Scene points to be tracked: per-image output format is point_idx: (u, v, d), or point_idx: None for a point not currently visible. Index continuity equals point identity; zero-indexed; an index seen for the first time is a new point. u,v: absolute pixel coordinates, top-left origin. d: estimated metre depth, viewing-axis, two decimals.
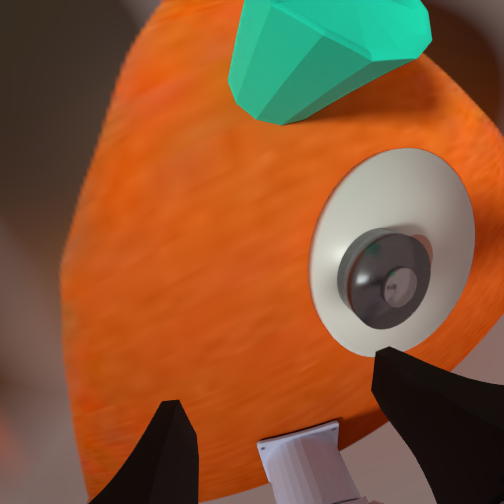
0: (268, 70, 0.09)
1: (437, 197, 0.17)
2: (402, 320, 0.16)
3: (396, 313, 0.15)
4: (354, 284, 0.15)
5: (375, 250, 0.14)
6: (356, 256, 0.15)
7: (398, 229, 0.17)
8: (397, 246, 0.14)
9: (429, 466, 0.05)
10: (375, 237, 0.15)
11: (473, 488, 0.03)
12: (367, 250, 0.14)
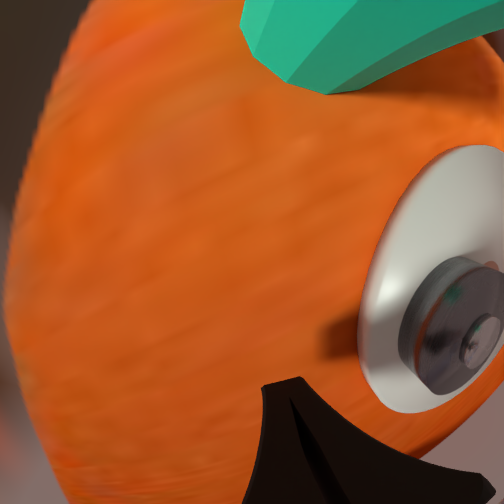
0: None
1: None
2: (470, 377, 0.09)
3: (467, 371, 0.09)
4: (432, 348, 0.08)
5: (465, 298, 0.08)
6: (436, 304, 0.09)
7: (473, 257, 0.10)
8: (487, 288, 0.08)
9: None
10: (459, 273, 0.09)
11: None
12: (453, 297, 0.08)
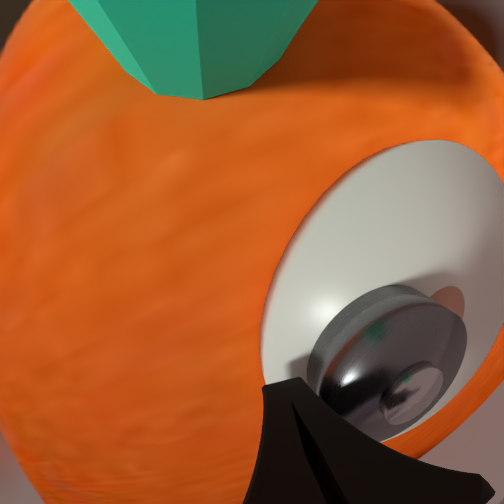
0: None
1: (479, 224, 0.09)
2: (408, 425, 0.08)
3: None
4: (330, 403, 0.07)
5: (377, 348, 0.07)
6: (340, 350, 0.08)
7: (420, 283, 0.09)
8: (420, 333, 0.07)
9: None
10: (380, 312, 0.08)
11: None
12: (362, 345, 0.07)
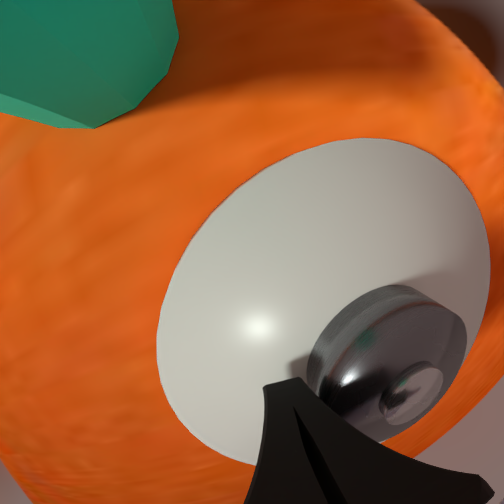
0: None
1: (428, 236, 0.09)
2: (408, 426, 0.08)
3: None
4: (329, 403, 0.07)
5: (377, 348, 0.07)
6: (340, 350, 0.08)
7: (336, 310, 0.09)
8: (420, 333, 0.07)
9: None
10: (379, 312, 0.08)
11: None
12: (361, 345, 0.07)
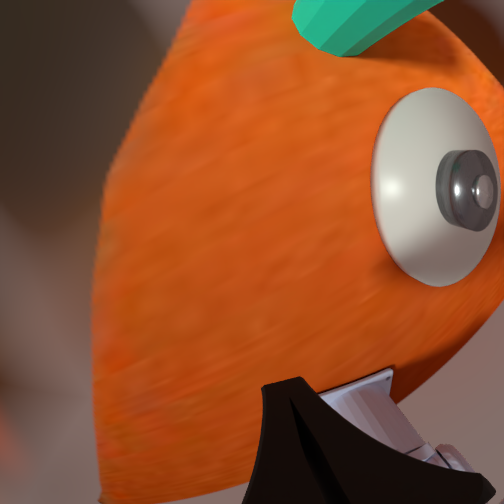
0: None
1: (467, 134, 0.16)
2: (485, 226, 0.15)
3: (481, 217, 0.15)
4: (457, 183, 0.14)
5: (466, 157, 0.14)
6: (452, 163, 0.15)
7: (442, 155, 0.16)
8: (478, 158, 0.14)
9: None
10: (460, 151, 0.14)
11: None
12: (460, 158, 0.14)
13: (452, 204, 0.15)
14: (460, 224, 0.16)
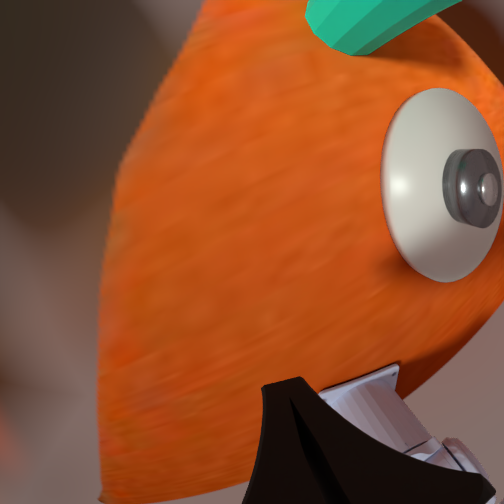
0: None
1: (473, 134, 0.16)
2: (489, 223, 0.15)
3: (486, 215, 0.15)
4: (463, 180, 0.14)
5: (472, 155, 0.14)
6: (458, 161, 0.15)
7: (448, 153, 0.16)
8: (483, 157, 0.14)
9: None
10: (466, 150, 0.15)
11: None
12: (466, 156, 0.14)
13: (458, 201, 0.15)
14: (466, 221, 0.16)
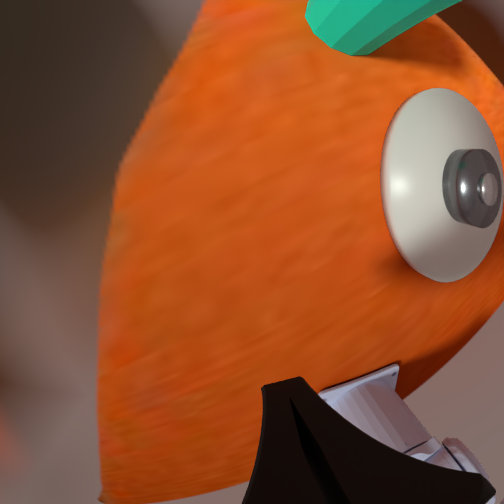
0: None
1: (473, 134, 0.16)
2: (489, 223, 0.15)
3: (486, 215, 0.15)
4: (463, 180, 0.14)
5: (472, 155, 0.14)
6: (458, 161, 0.15)
7: (448, 153, 0.16)
8: (483, 157, 0.14)
9: None
10: (466, 150, 0.15)
11: None
12: (466, 156, 0.14)
13: (458, 201, 0.15)
14: (466, 221, 0.16)
